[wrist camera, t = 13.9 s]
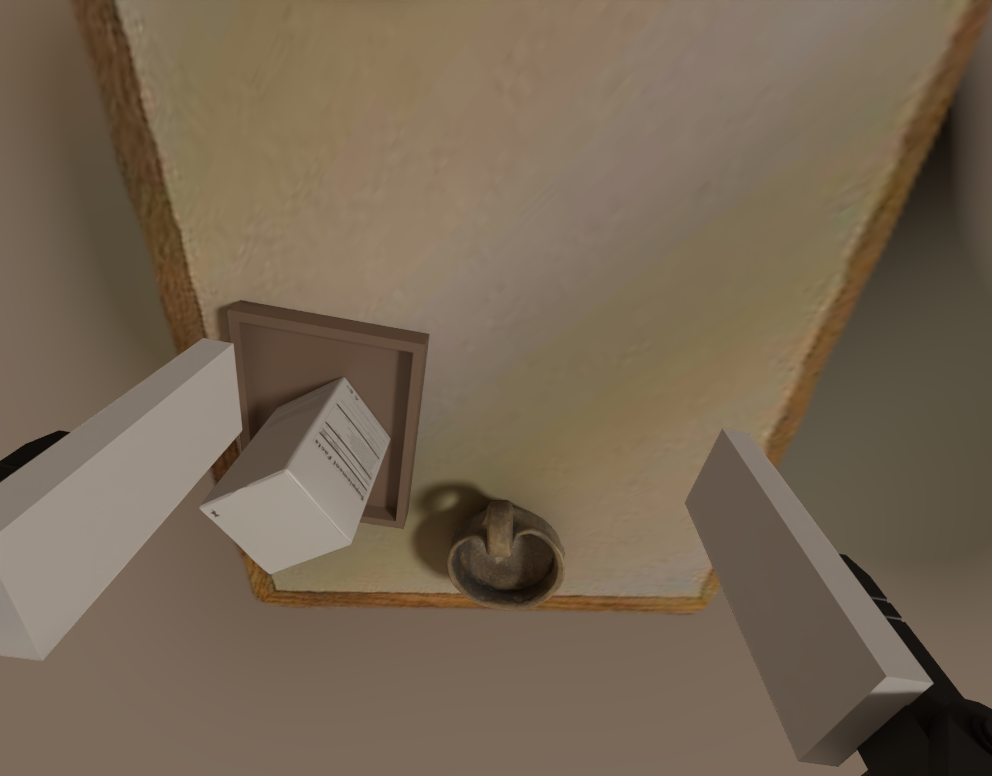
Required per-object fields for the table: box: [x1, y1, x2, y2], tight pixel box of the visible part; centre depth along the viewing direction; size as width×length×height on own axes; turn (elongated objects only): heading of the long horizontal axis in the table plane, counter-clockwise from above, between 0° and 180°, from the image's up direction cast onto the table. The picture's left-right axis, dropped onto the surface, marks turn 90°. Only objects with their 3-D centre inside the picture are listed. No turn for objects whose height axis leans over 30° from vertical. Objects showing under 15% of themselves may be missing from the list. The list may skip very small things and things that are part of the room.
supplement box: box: [199, 377, 390, 574], centre depth 45 cm, size 9×9×15 cm
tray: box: [227, 300, 429, 529], centre depth 51 cm, size 24×18×2 cm
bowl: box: [447, 500, 565, 610], centre depth 54 cm, size 14×18×10 cm
